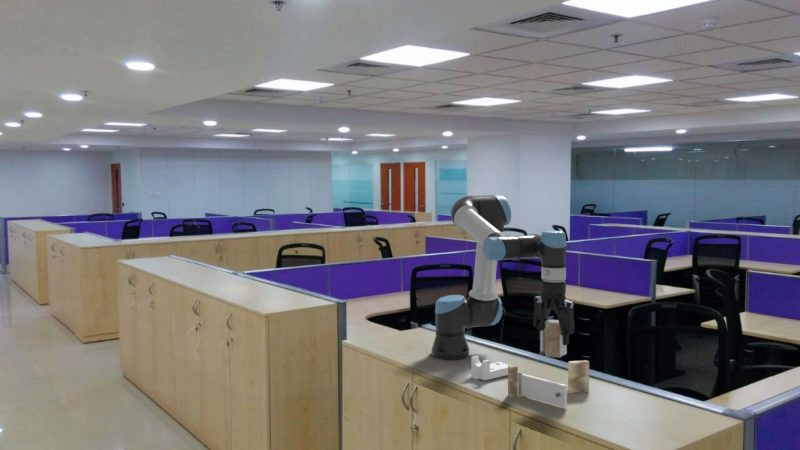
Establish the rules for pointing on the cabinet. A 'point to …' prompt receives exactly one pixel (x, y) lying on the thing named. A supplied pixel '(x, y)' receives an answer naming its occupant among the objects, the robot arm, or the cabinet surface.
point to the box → (552, 338)
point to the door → (542, 390)
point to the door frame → (576, 378)
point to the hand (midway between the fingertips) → (553, 352)
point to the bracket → (487, 369)
